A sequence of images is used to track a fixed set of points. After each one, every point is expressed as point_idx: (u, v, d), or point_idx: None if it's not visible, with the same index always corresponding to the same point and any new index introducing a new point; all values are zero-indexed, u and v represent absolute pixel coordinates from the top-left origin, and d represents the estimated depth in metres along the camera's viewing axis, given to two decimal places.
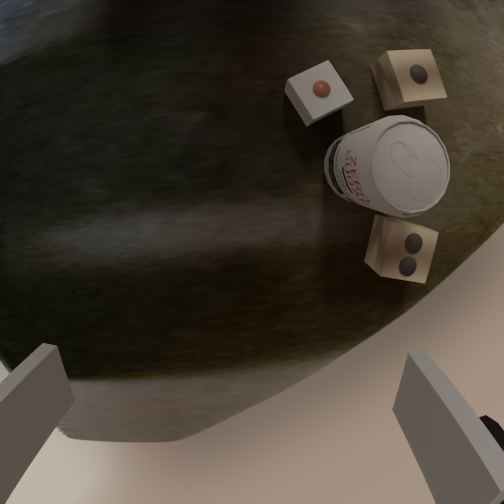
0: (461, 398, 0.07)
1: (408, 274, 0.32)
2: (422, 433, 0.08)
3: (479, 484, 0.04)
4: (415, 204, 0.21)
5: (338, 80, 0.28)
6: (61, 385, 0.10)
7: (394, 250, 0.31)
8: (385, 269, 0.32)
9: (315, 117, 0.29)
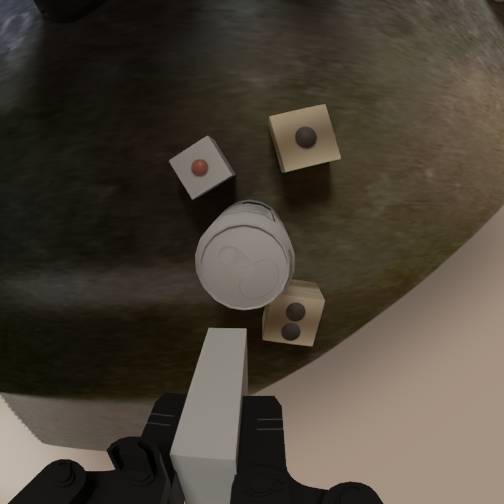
0: (243, 372, 0.09)
1: (292, 338, 0.36)
2: None
3: None
4: (249, 302, 0.25)
5: (217, 156, 0.32)
6: None
7: (275, 318, 0.35)
8: (267, 334, 0.36)
9: (194, 197, 0.33)
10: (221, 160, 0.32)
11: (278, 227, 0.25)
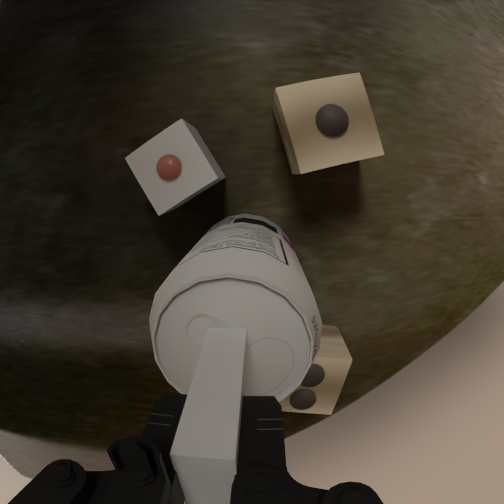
0: (243, 372, 0.09)
1: (304, 407, 0.24)
2: None
3: None
4: None
5: (194, 149, 0.21)
6: None
7: None
8: None
9: (161, 212, 0.22)
10: (201, 155, 0.21)
11: (294, 277, 0.14)
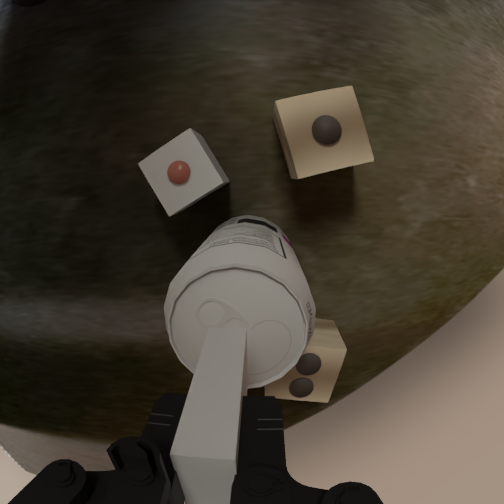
0: (242, 372, 0.09)
1: (302, 395, 0.26)
2: None
3: None
4: None
5: (202, 156, 0.23)
6: None
7: None
8: (271, 390, 0.26)
9: (171, 213, 0.24)
10: (208, 162, 0.23)
11: (291, 268, 0.16)
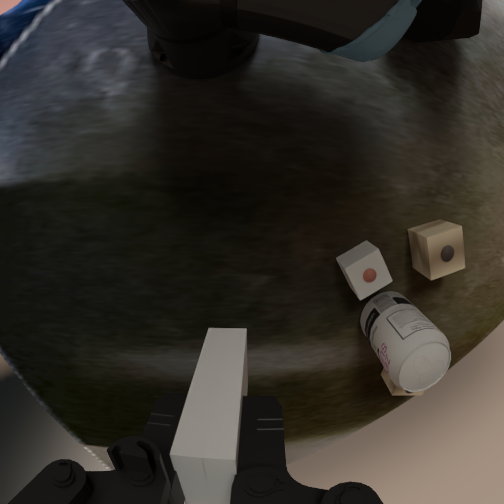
0: (243, 372, 0.09)
1: (411, 392, 0.41)
2: None
3: None
4: (422, 386, 0.31)
5: (383, 266, 0.38)
6: None
7: None
8: (396, 391, 0.41)
9: (361, 298, 0.39)
10: (386, 269, 0.38)
11: (445, 337, 0.31)
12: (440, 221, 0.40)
